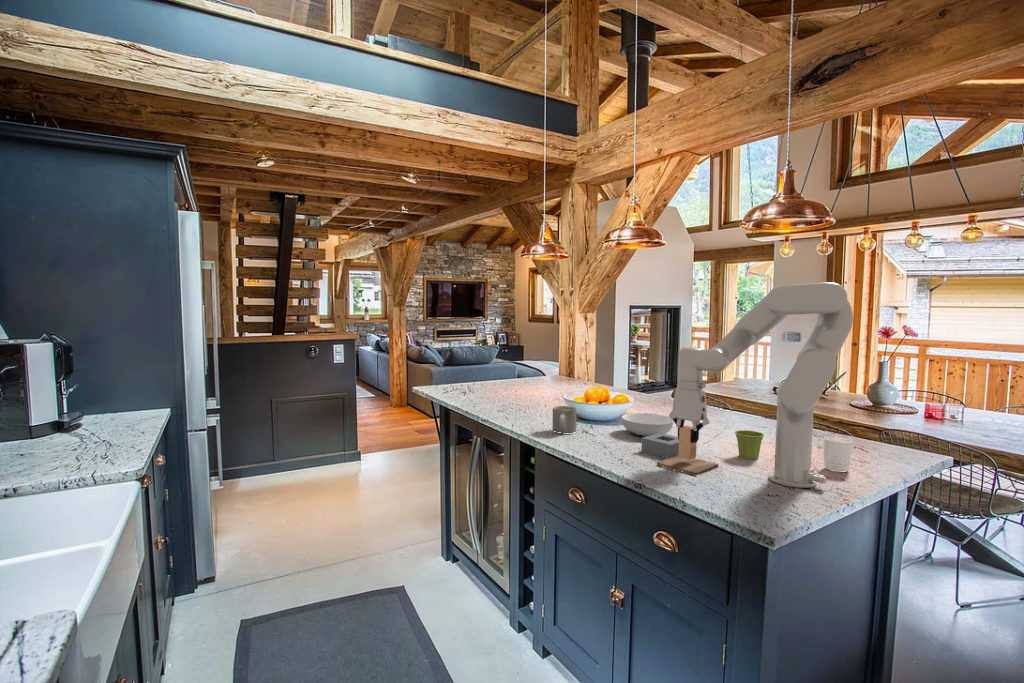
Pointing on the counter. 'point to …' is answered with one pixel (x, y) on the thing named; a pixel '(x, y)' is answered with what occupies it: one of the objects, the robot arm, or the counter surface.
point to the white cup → (837, 453)
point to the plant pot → (749, 443)
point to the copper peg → (686, 443)
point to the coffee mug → (564, 419)
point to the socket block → (661, 445)
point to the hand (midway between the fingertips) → (687, 440)
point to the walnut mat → (688, 465)
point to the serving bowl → (647, 423)
